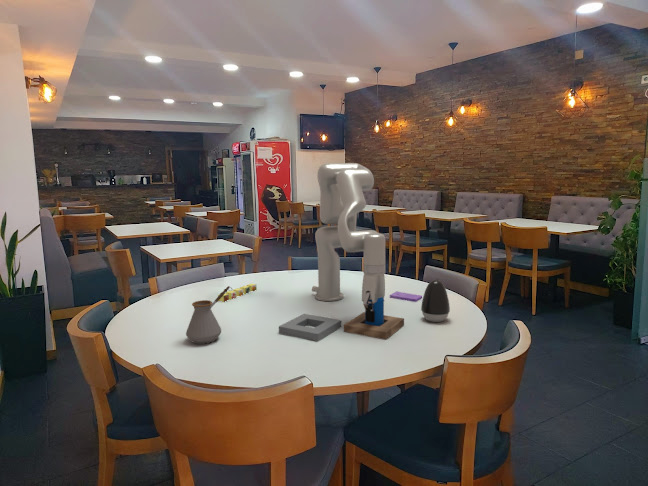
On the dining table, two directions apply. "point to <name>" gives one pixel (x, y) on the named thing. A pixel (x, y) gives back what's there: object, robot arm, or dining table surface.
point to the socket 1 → (320, 331)
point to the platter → (238, 292)
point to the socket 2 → (381, 331)
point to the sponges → (405, 296)
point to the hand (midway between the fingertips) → (374, 318)
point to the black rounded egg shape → (435, 302)
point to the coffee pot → (204, 322)
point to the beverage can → (377, 312)
